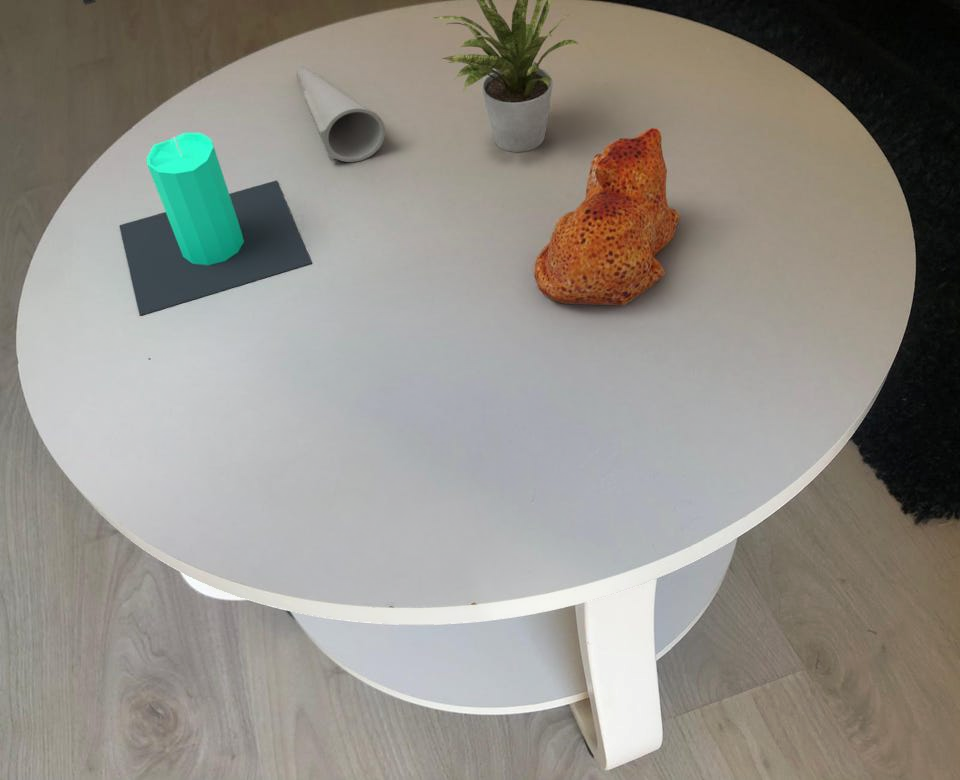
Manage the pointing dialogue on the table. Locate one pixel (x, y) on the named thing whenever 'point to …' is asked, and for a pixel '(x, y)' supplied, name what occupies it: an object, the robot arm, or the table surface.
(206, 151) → the candle
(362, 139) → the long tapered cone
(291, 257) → the mat
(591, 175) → the figurine
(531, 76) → the house plant
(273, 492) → the table surface
